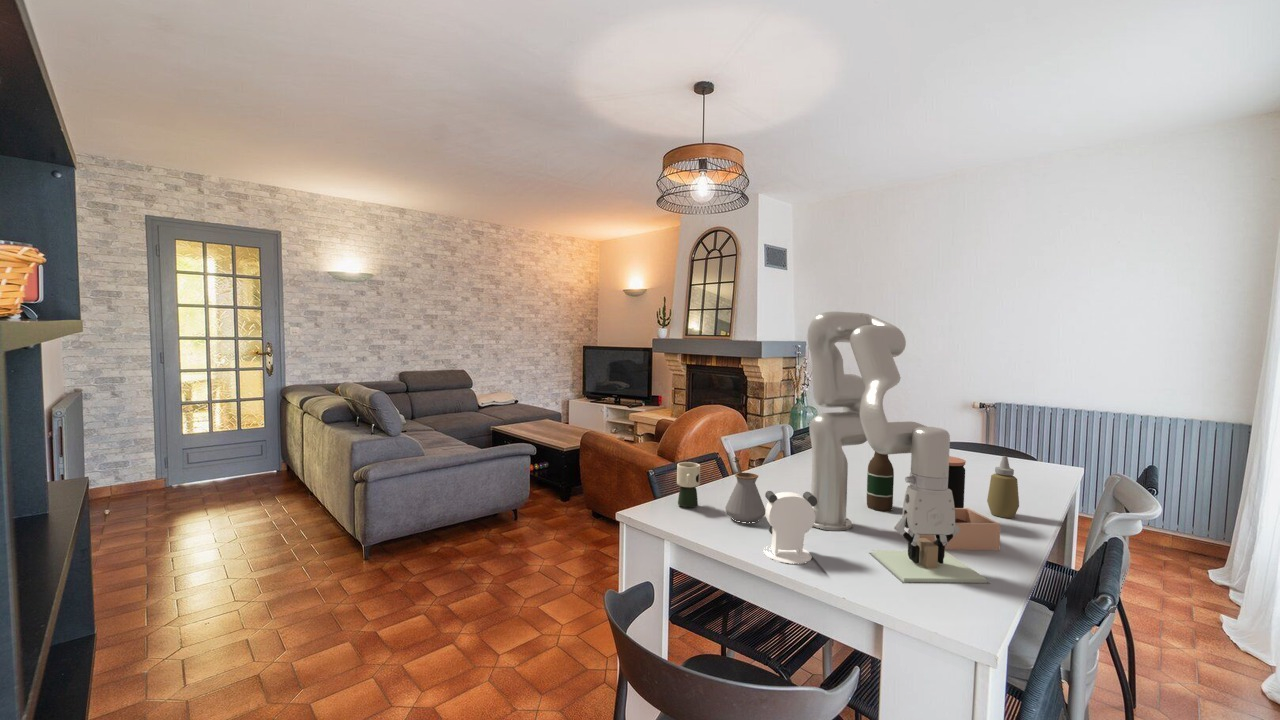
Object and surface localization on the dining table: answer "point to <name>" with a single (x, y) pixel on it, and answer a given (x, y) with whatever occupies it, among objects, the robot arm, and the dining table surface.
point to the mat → (927, 582)
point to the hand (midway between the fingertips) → (925, 560)
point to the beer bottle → (880, 483)
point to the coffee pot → (745, 498)
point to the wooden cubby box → (973, 532)
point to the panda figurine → (789, 525)
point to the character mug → (688, 483)
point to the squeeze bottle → (1003, 491)
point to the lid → (927, 565)
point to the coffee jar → (957, 480)
